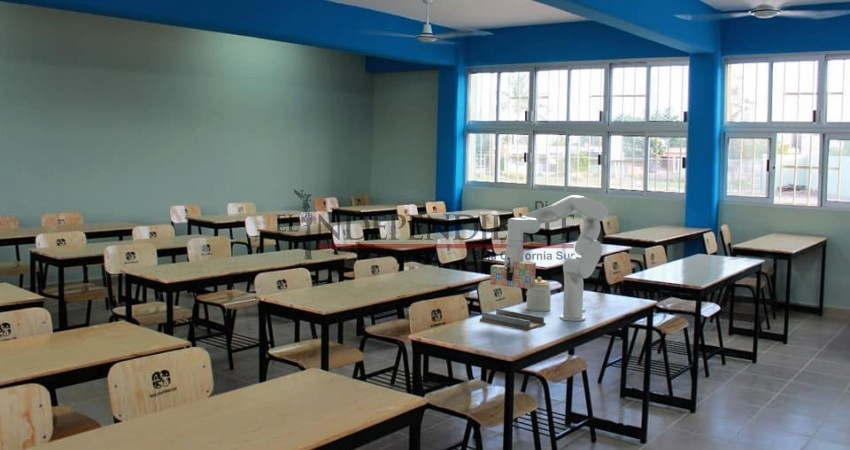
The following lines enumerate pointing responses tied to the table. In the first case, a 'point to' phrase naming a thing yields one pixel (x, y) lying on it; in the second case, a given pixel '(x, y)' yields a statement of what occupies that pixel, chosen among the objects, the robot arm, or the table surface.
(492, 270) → the stack of blocks
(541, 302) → the jar
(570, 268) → the robot arm
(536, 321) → the track
